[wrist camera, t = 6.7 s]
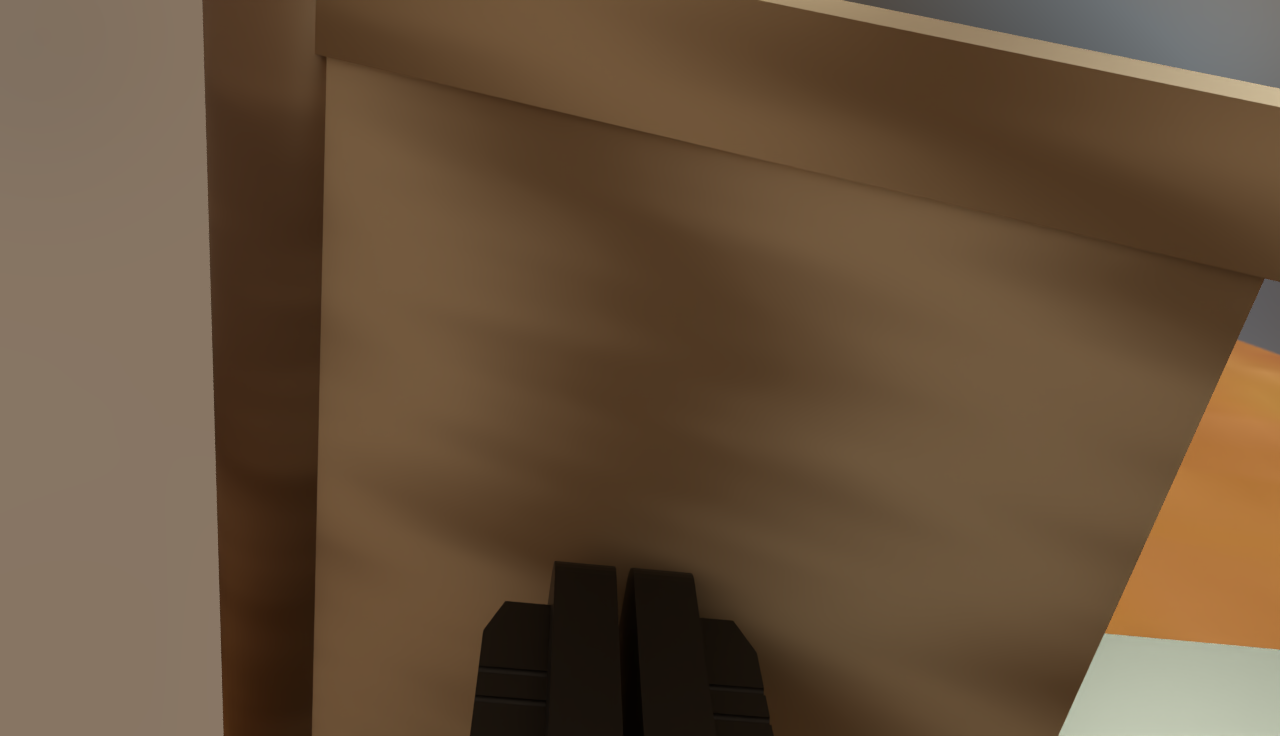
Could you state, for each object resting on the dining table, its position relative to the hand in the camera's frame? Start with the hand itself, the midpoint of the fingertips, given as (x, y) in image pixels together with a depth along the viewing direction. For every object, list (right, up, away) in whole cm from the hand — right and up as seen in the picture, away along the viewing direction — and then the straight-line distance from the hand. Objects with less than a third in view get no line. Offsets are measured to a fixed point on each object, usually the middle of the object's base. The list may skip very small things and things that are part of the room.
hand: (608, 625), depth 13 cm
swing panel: (+1, -6, +3) cm, 7 cm away
